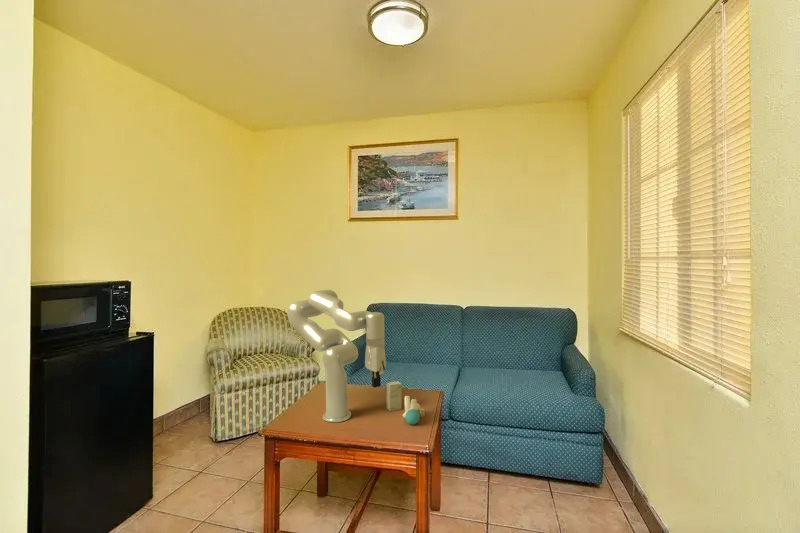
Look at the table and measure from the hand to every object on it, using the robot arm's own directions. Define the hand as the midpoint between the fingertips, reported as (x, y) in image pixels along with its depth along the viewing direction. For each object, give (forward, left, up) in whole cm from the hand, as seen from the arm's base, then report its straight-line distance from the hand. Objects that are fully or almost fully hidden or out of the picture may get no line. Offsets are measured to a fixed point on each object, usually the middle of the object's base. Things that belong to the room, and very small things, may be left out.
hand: (376, 386), depth 154 cm
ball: (+6, +14, -14) cm, 21 cm away
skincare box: (-13, +17, -17) cm, 28 cm away
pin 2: (+3, +17, -17) cm, 24 cm away
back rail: (-3, +22, -17) cm, 28 cm away
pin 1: (-2, +17, -17) cm, 24 cm away
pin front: (0, +14, -16) cm, 21 cm away
